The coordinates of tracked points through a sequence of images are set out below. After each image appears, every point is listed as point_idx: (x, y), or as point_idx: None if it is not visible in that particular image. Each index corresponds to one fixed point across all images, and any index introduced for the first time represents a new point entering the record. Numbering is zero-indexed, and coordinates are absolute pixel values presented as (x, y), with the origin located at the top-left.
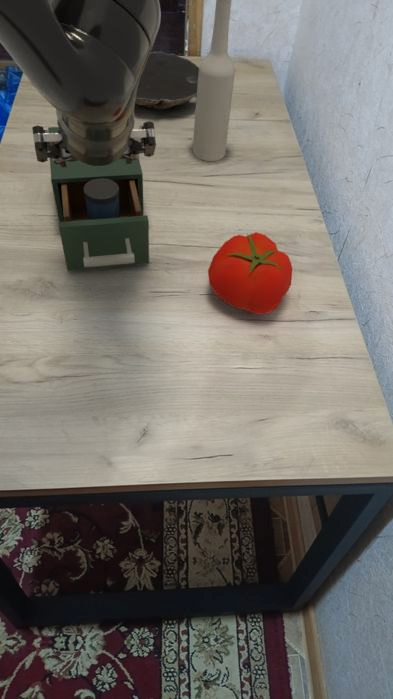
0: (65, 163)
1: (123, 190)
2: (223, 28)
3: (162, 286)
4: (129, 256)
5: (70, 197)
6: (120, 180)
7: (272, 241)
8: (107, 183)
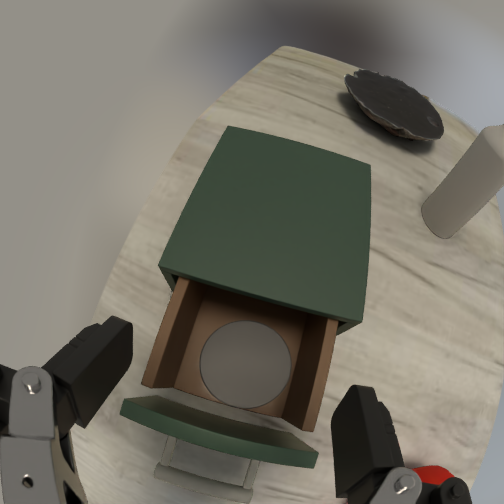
0: (100, 405)
1: None
2: None
3: (288, 481)
4: (241, 500)
5: None
6: None
7: None
8: (268, 350)
